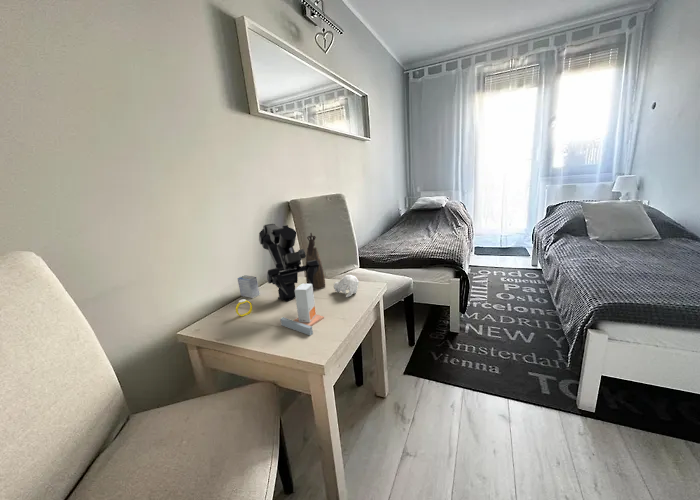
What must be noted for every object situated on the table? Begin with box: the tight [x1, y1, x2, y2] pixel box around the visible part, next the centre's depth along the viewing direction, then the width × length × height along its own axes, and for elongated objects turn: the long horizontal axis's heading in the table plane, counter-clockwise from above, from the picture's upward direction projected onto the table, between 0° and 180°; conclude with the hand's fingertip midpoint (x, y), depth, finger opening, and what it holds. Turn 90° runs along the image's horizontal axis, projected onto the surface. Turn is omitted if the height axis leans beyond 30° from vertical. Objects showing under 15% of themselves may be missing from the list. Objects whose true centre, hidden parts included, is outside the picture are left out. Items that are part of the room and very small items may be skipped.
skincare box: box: [295, 283, 317, 323], centre depth 100 cm, size 6×4×12 cm
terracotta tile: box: [292, 313, 325, 327], centre depth 101 cm, size 8×8×1 cm
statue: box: [305, 232, 326, 290], centre depth 131 cm, size 9×8×25 cm
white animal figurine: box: [333, 274, 360, 298], centre depth 121 cm, size 6×8×12 cm
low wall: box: [280, 316, 314, 336], centre depth 96 cm, size 1×14×2 cm, turn 52°
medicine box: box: [237, 274, 261, 299], centre depth 130 cm, size 8×4×9 cm, turn 58°
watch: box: [235, 298, 253, 317], centre depth 111 cm, size 6×3×6 cm, turn 133°
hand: (300, 291), depth 103 cm, fingers open, 9 cm apart
